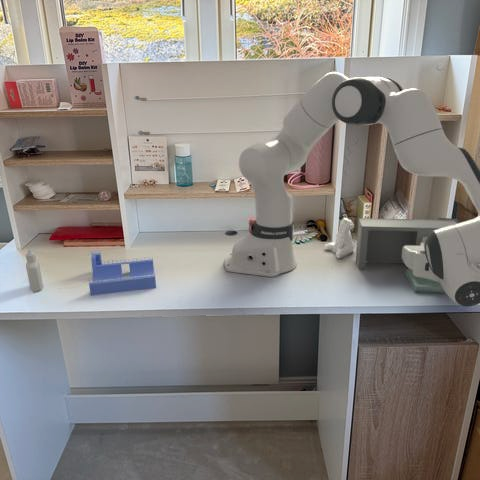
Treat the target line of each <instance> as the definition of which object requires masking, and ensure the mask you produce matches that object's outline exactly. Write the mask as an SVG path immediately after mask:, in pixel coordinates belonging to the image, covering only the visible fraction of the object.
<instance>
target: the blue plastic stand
mask: <svg viewBox="0 0 480 480" xmlns="http://www.w3.org/2000/svg"><path fill="white" fill-rule="evenodd" d="M90 259H91V260H90V261H91V270H92V281H88V284H89V285H88V286H89V292H90V296H97V295H98V296H99V295H107V294H115V293H125V292H131V291H132V292H133V291H142V290H150V289H151V290H152V289H156V288H157V285H156V284H157V283H156V274H155V268H154V267H155V266H154V258H153V256H151V258H149V257H143V259H140V258H139V259H138V258H136V257H135V258H133V260H130V259H127V261H126V259H125V258H124V259H123V261H122V259H119V260H120V261H119V260H113V261H111V262H109V261H110V260H108V261H107V260H106V261H102V255H101V252H100V250H96V252H91V258H90ZM122 265H128V266H129V277H125V276H124V277H123V270H122V269H123V268H122Z"/></svg>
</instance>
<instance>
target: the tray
mask: <svg viewBox="0 0 480 480" xmlns="http://www.w3.org/2000/svg"><path fill="white" fill-rule="evenodd" d="M405 276H406V278H407V279H408V282H409V284H410V286H411V288H412V290H413V292H414V293H423V294H424V293H426V294H427V293H428V294H446V292H445V291H444V290H443V288H442V286H441V284H440V282H437V281H434V280H431V279H427V278H422V277H416V276H414V275H413V270H411V269H409V268H408V269H406V274H405Z"/></svg>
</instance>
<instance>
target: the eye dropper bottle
mask: <svg viewBox="0 0 480 480" xmlns="http://www.w3.org/2000/svg"><path fill="white" fill-rule="evenodd" d="M25 257H26V264H25V268H26V273H27V279H28V282H29V289H30V291H31V292H32V293H34V292H35V293H37V292H41V291H42V290H43V288H44V283H43V277H42V272H41V267H40V263H39V260H37V256H36V253H35V252H33V251H32V249H31V248H29V249H27V253H25Z"/></svg>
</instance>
